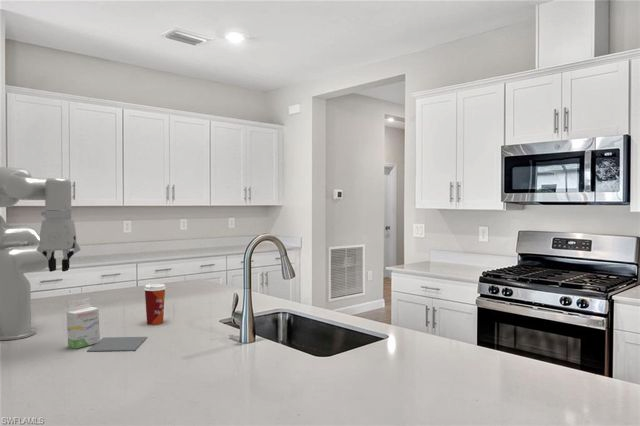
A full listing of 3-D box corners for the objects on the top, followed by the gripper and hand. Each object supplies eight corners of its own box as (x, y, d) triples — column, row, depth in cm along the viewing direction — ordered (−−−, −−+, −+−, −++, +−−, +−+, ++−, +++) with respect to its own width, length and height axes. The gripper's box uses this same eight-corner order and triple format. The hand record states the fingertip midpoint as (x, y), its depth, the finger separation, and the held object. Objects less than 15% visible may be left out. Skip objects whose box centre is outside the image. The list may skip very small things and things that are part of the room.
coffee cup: (161, 325, 179) (161, 287, 178) (140, 325, 179) (140, 287, 178) (169, 320, 187) (169, 283, 186) (149, 319, 187) (148, 283, 187)
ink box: (74, 349, 150) (72, 304, 149) (67, 346, 153) (65, 302, 152) (101, 342, 156) (98, 298, 156) (93, 339, 159) (91, 297, 159)
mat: (86, 351, 148) (86, 350, 148) (103, 338, 162) (103, 337, 162) (135, 350, 149) (135, 349, 149) (147, 337, 163) (147, 336, 163)
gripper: (26, 216, 148) (26, 273, 149) (79, 216, 149) (80, 272, 150) (38, 215, 155) (38, 269, 156) (89, 215, 157) (89, 269, 157)
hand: (59, 270), depth 153 cm, fingers open, 3 cm apart
